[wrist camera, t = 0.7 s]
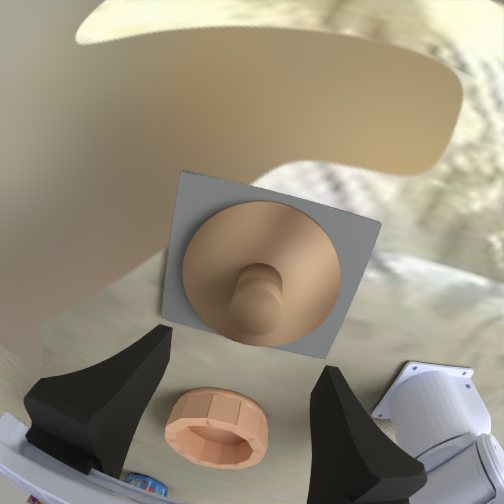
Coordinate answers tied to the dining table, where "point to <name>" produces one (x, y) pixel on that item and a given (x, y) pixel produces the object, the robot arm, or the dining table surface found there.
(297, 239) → the lid
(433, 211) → the dining table surface
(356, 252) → the mat
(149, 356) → the robot arm
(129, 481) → the snack cup
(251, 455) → the bowl
